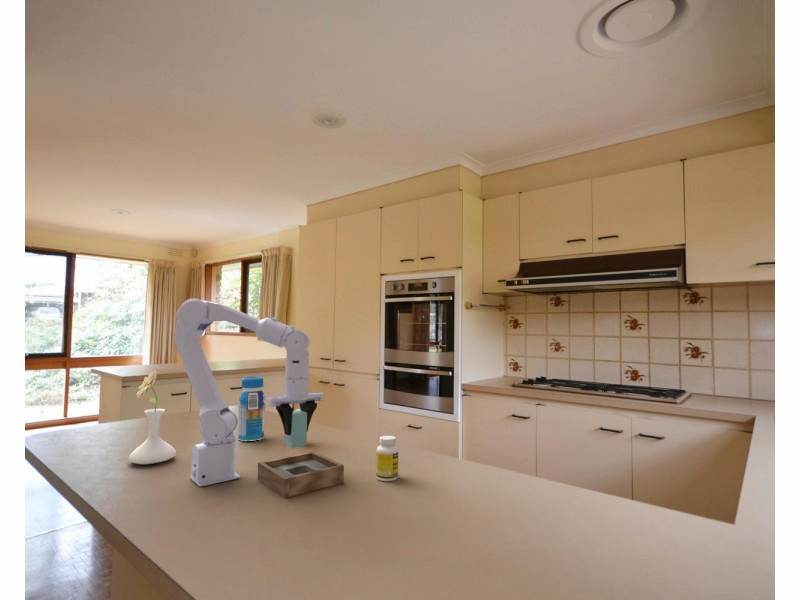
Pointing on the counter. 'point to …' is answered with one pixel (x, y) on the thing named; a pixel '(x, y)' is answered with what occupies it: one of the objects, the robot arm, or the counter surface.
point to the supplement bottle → (387, 459)
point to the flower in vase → (152, 431)
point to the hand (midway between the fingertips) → (296, 432)
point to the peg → (297, 430)
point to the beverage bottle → (251, 409)
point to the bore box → (300, 473)
